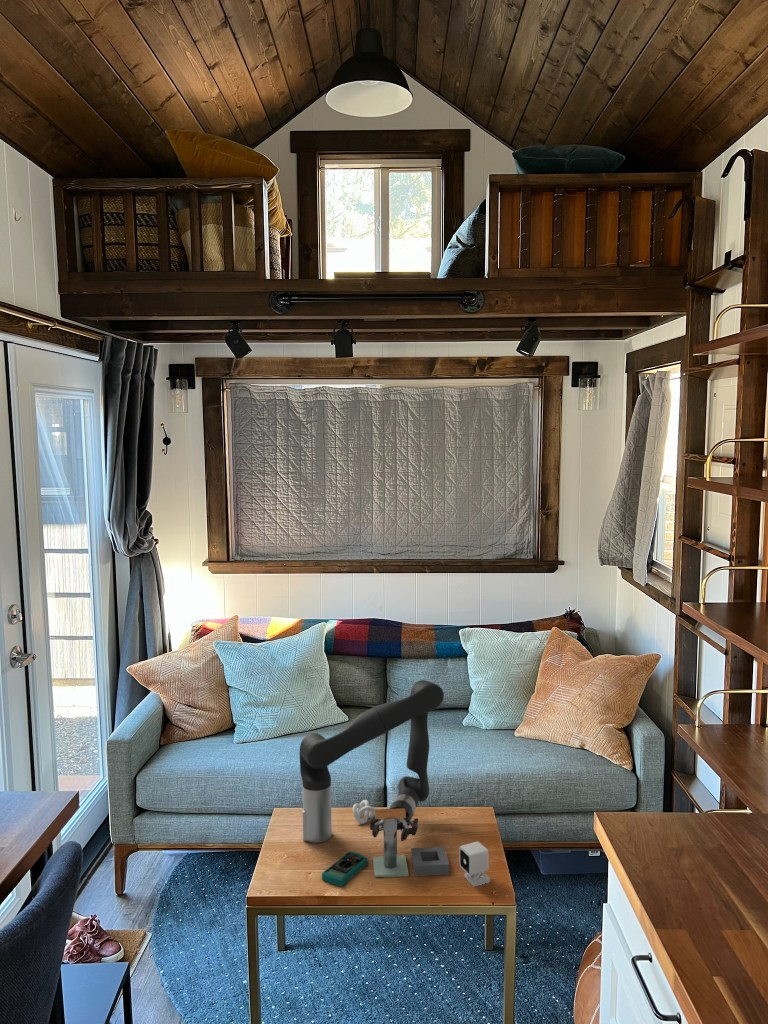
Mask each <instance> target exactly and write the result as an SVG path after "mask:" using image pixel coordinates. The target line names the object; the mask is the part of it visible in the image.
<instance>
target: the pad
mask: <svg viewBox="0 0 768 1024" xmlns="http://www.w3.org/2000/svg"><path fill="white" fill-rule="evenodd" d="M373 866H374V867H373ZM372 867H373V873H374V879H377V878H376V877H384V878H400V877H402V876H403V877H409V876H410V875H409V873H410V872H409V868H408V864H407V857H406V855H397V866H396V867H395V868H392V869H389V868H386V867H384V856H372Z"/></svg>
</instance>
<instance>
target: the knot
mask: <svg viewBox="0 0 768 1024" xmlns="http://www.w3.org/2000/svg"><path fill="white" fill-rule="evenodd" d="M375 810H376V809H375V808H374V807H373V806H370V802H369V800H367V799H363V800H361V802H360V803H357V802H356V803H354V804H353V806H352V814H353V817H354V820H356V822H357V823H358V824H361V825H364V824H366V823H367V821H368V819H372V818H373V817H374V816H375ZM362 815H363V818H361V817H362Z"/></svg>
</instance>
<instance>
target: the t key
mask: <svg viewBox="0 0 768 1024" xmlns="http://www.w3.org/2000/svg"><path fill="white" fill-rule="evenodd" d="M397 818H406V811H405V808H402V809H389V808H382V809H380V808H379V809H375V819H384V831H383V857H384V867H386V868H389V869H392V868H395V867H396V866H397V856H398V830H397Z"/></svg>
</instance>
